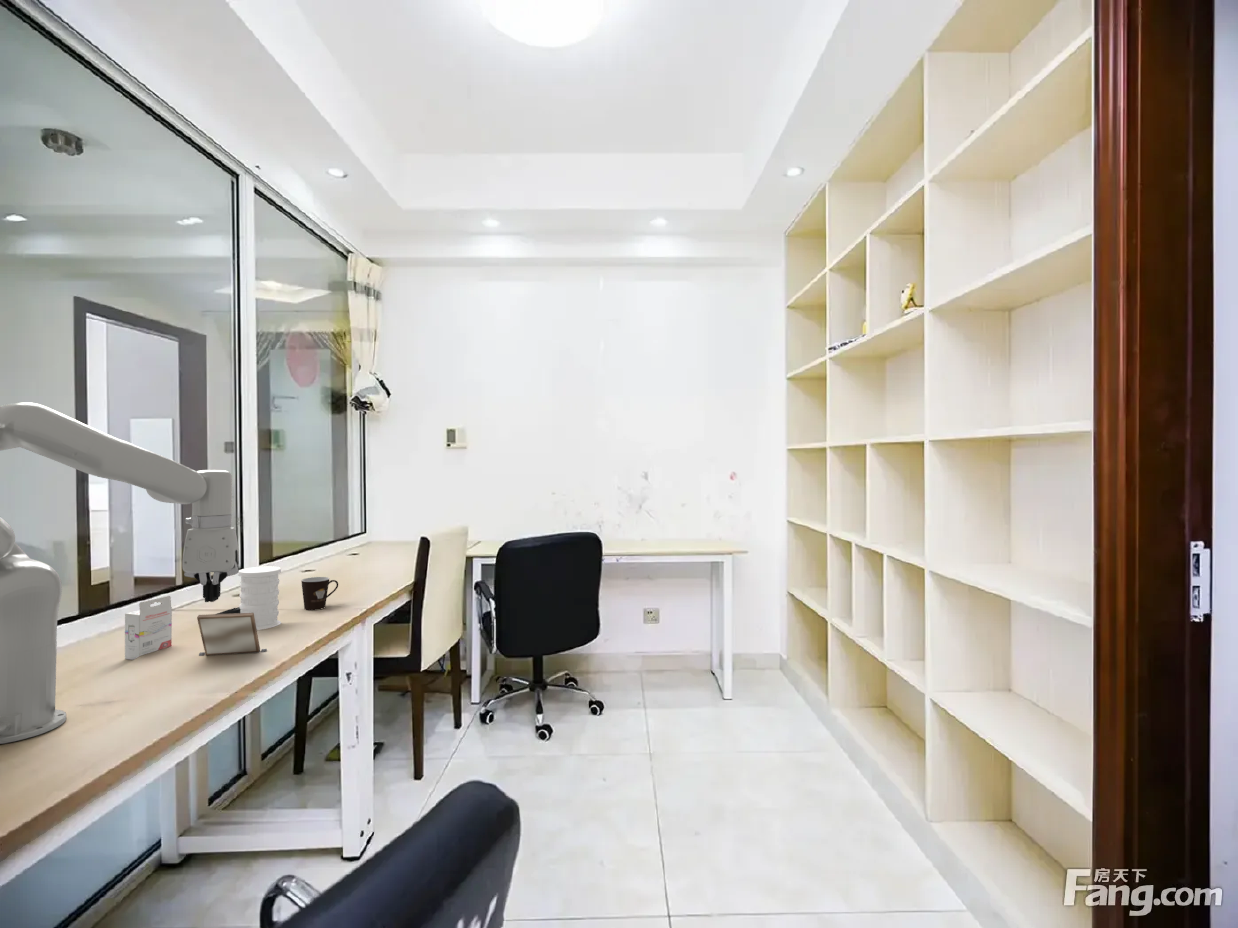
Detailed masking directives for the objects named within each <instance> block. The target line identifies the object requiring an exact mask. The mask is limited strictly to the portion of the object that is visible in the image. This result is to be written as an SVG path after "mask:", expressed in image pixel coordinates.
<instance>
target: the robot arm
mask: <svg viewBox="0 0 1238 928" xmlns="http://www.w3.org/2000/svg"><path fill="white" fill-rule="evenodd" d="M16 448H22V449H24V450H27V451H29V452H31V453H34V454H37V455H38V456H39V455H40V456H42V457H45V458H48V459H50V460H53V461H54V462H57V463H60V464H63V465H65V466H67V467H69V468H73V469H74V470H78V471H80V472H82V473H84V474H88V475H91V476H94V477H98V478H102V479H105V480H106V479H107V480H113V481H117V482H122V483H125V484H129V485H132V486H136V487H138V488H141V489H144V490H145V491H146V492H147V494H148V496H149V497H150V498H152V499H153V500H156V501H158V502H160V503H166V504H179V505H190V504H191V505H192V506H191V516H190V517H186V518H185V520H184V521H185V524H187V525H188V524H189V525H190V526H191V528H189V529H187V531H186V535H185V539H184V544H183V552H182V567H181V568H182V570H183V572H184V574H183V575H184V577H188V578H194V579H195V580H197V582H199V583H200V585H201V586H202V598H203V599H204V602H205V603H209V602H210V603H214V602H216V601H217V600H219V598H220V597H221V587H222V586H221V583H222V582H223V581H224V580H226V578H227V577H228V578H229V577H231V576H235V575H237V574H239V570H240V569H239V567H238V566H239V562H240V554H239V551H240V550H239V543H238V537H237V533H236V529H235V527H234V526H233V525H232V524H233V522H232V515H233V514H232V511H233V510H232V509H233V507H232V505H233V504H232V502H233V500H232V499H233V498H232V497H233V496H232V495H233V493H232V492H233V487H232V486H233V476H232V473H231V472H230V471H229V470H225V469H202V470H194V469H192V468H191V467H188V466H186V465H184V464H182V463H180V462H177V461H175V460H174V459H171V458H168V457H166V456H164V455H161V454H158V453H156V452H153V451H152V450H148V449H145V448H143V447H140V446H138V445H135V444H133V443H131V442H129V441H126V440H123V439H120V438H118V437H115V436H112V435H111V434H108V433H106V432H103V431H102V430H99V429H96V428H94V427H92V426H90V425H88V424H85V423H83V422H81V421H79V420H77V419H75V418H73V417H70V416H68V415H66V414H64V413H62V412H59V411H57V410H55V409H52V408H51V407H48V406H46V405H43V404H40V403H35V402H29V401H28V402H27V401H26V402H24V401H22V402H16V403H15V402H14V403H8V404H7V403H6V404H2V405H0V451H6V450H11V449H16ZM232 526H233V527H232ZM211 573H213V575H211ZM62 592H63V585H62V580H61V577H60V575H59V573H58V571H56V570H55V568H53V567H52V566H51V565H49V564H47V563H46V562H42V561H41V560H36V559H33V558H30V556H29V555H27V553H26V552H25V551H24V550H23V549H22V548H21V547H20V546H19V544H17V543H16V535H15V532H14V529H13V528H12V526H11V525H10V524H9V523H8V522H7V521H6V520H5V519H4V518H2V516H0V745H1V744H9V743H13V742H18V741H22V740H26V739H30V738H33V737H37V736H39V735H42V734H45V733H47V732H48V733H49V731H52V730H54V729H56V728H58V727H60V726H62V725H63V724H64V723H65V722H66V720H67V713H66V711H64V710H61V709H56V691H57V690H56V689H57V688H56V686H57V653H58V652H57V650H58V649H57V648H58V647H57V645H58V644H57V643H58V642H57V639H58V638H57V637H58V636H57V635H58V633H57V632H58V618H59V616H58V615H59V610H60V603H61V599H62Z"/></svg>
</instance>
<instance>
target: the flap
mask: <svg viewBox="0 0 1238 928" xmlns="http://www.w3.org/2000/svg"><path fill="white" fill-rule="evenodd" d="M196 619H197V623H198V628H199V632H200V637H201V641H202V645H203V651H204V652H205V655H204V656H218V655H219V656H220V655H236V654H252V653H253V654H255V653H260V652H261V647H260V641H259V636H258V634H259V633H258V630H257V629H256V623H255V618H254V613H232V614H217V613H211V614H210V613H209V614H198V615H197V618H196Z"/></svg>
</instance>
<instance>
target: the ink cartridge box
mask: <svg viewBox="0 0 1238 928" xmlns="http://www.w3.org/2000/svg"><path fill="white" fill-rule="evenodd" d="M171 598H172V597H171V595H167V596H163V597H162V596H161V597H157V598H153V599H149V600H146V601H145V600H144V601H141V602H139V603H138V604H139V605H138V606H139V609H138V610H134V611H130V612H125V613H124V659H125V660H131V661H134V660H136V659H138V658H139V657H142V656H143V655H148V654H150V653H153V652H157V651H159V650H163V649H167V648H168V647H169V648H170V647H172V639H173V638H172V637H173V636H172V634H173V633H172V631H173V628H172V627H173V625H172V624H173V621H172V620H173V619H172V618H173V615H172V613H173V607H172V599H171ZM155 603H158V604H156V605H153V604H155ZM159 603H160V604H159ZM151 605H153V606H151Z"/></svg>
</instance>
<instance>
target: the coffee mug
mask: <svg viewBox="0 0 1238 928" xmlns="http://www.w3.org/2000/svg"><path fill="white" fill-rule="evenodd" d="M300 581H301V591H302V599H303V609H304V610H305V609H306V610H305V611H316V610H315V609H320V610H322V609H321V608H323V609H325V608H326V604H327V598H329V597H330V596H331V595H332V594H333V593H334V592H336V591H337V589H338V587H339V582H338V580H335V579H332V580H330V577H328V576H327V577H326V576H314V577H313V576H312V577H311V576H310V577H307V578H303V579H301V580H300ZM333 582H334V583H335V585H336V586H335V588H334V589H333V590H332V591H330V592H329V593H328V590H329V585H330V584H331V583H333ZM324 607H325V608H324Z"/></svg>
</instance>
